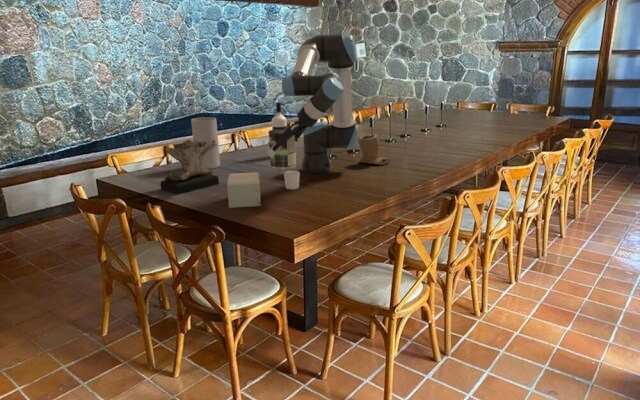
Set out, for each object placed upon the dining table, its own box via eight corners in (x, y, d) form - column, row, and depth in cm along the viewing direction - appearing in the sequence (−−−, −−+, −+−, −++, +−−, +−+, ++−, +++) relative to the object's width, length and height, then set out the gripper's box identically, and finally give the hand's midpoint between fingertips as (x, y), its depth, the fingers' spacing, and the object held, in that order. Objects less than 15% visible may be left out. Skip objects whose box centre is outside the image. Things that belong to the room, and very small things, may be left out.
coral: (207, 178, 240) (203, 133, 234) (233, 185, 226) (229, 137, 220) (160, 189, 223) (154, 141, 217) (185, 197, 209) (179, 146, 203)
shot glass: (300, 185, 223) (299, 169, 221) (300, 189, 216) (299, 173, 214) (284, 185, 223) (284, 170, 221) (284, 190, 216) (283, 174, 214)
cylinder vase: (214, 169, 257) (210, 120, 249) (191, 169, 259) (186, 120, 252) (223, 164, 268) (219, 117, 261) (202, 163, 271) (197, 117, 264)
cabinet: (260, 195, 209) (259, 171, 206) (260, 207, 193) (259, 182, 190) (231, 197, 208) (229, 173, 205) (228, 209, 192) (226, 183, 189)
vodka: (269, 156, 286) (266, 102, 277) (283, 153, 291) (280, 101, 283) (279, 158, 279) (276, 103, 270) (292, 156, 284) (290, 102, 276)
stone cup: (353, 164, 261) (353, 135, 256) (367, 160, 269) (366, 132, 265) (378, 167, 251) (378, 138, 247) (391, 163, 260) (391, 134, 256)
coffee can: (275, 170, 192) (273, 134, 188) (266, 165, 201) (264, 130, 197) (300, 167, 196) (299, 131, 192) (290, 162, 205) (289, 127, 201)
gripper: (304, 125, 177) (268, 165, 188) (329, 116, 197) (295, 153, 208) (290, 109, 178) (255, 151, 189) (316, 102, 198) (282, 140, 208)
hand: (276, 152), depth 198 cm, fingers closed on coffee can, 10 cm apart
